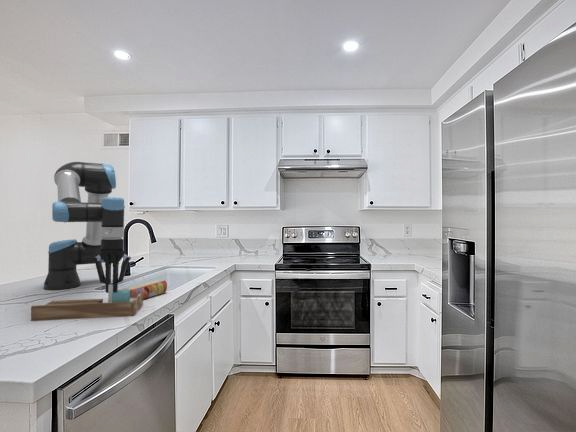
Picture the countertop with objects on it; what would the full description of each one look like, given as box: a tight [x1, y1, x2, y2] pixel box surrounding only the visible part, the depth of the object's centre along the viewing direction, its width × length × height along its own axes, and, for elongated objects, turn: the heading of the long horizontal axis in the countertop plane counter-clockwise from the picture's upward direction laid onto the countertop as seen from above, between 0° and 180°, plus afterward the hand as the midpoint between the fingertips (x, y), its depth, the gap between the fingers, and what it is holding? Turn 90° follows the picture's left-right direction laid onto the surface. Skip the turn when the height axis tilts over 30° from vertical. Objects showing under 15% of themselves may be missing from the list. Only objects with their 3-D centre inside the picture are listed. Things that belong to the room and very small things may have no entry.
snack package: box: [121, 278, 168, 300], centre depth 144 cm, size 21×7×7 cm, turn 157°
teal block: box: [112, 289, 130, 302], centre depth 123 cm, size 5×5×5 cm
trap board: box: [30, 292, 144, 322], centre depth 123 cm, size 15×33×5 cm, turn 102°
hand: (111, 301), depth 121 cm, fingers closed
